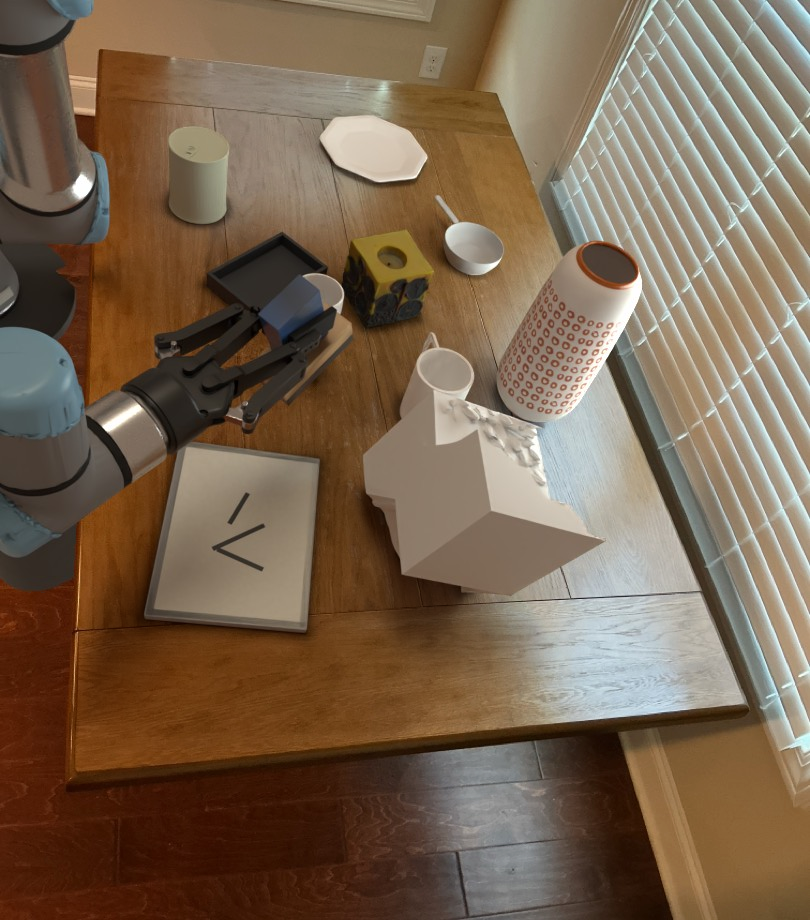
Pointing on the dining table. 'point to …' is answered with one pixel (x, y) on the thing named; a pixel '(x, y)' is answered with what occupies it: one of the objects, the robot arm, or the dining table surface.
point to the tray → (263, 271)
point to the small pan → (470, 245)
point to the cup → (437, 375)
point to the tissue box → (471, 498)
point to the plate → (373, 148)
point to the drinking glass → (328, 289)
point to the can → (198, 174)
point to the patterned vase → (568, 331)
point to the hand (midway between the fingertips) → (320, 307)
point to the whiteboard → (236, 540)
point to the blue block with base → (293, 312)
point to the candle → (386, 278)
